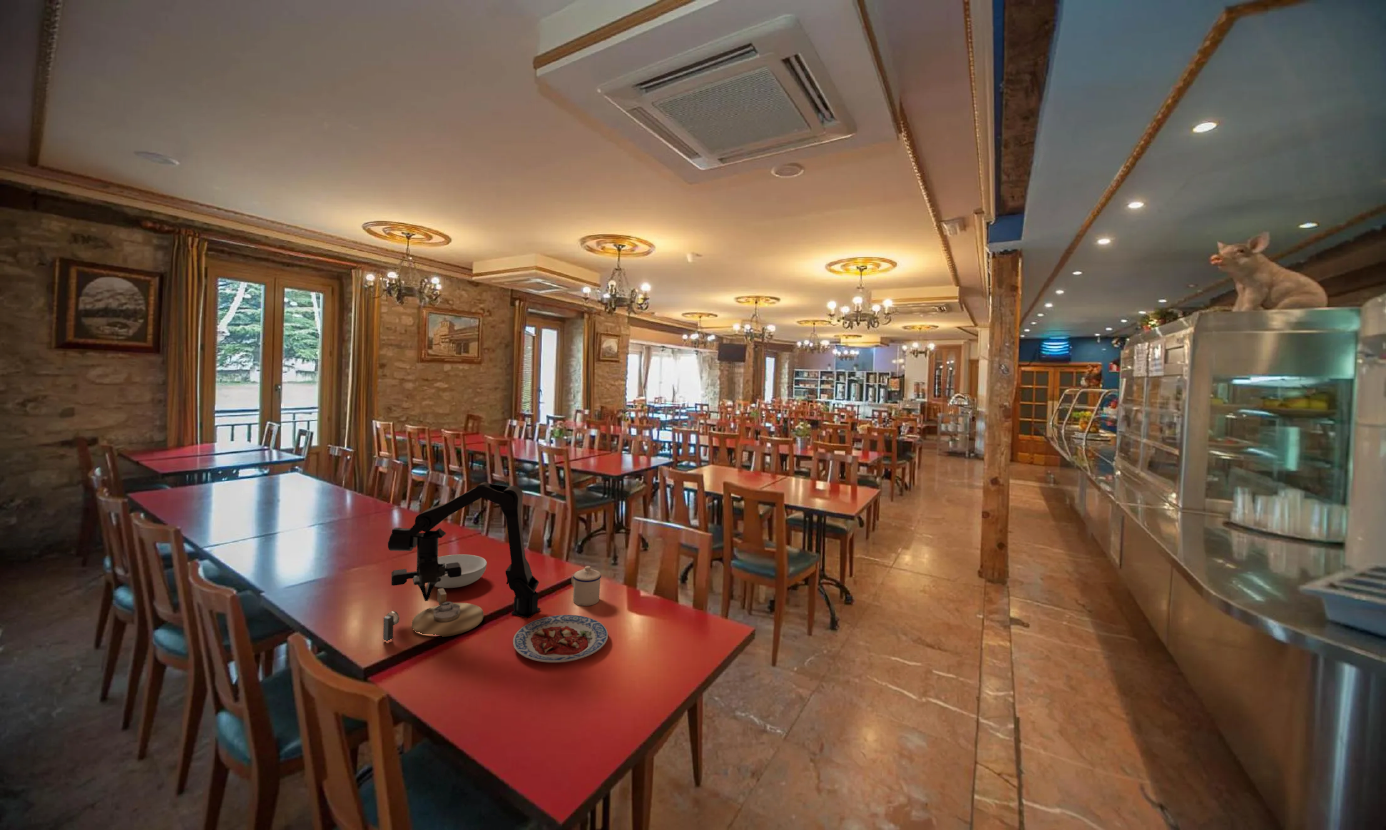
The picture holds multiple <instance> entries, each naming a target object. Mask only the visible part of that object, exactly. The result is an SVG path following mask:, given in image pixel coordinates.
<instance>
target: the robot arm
mask: <svg viewBox="0 0 1386 830" xmlns="http://www.w3.org/2000/svg"><path fill="white" fill-rule="evenodd" d="M523 497H524V493H523V490H522V489H521V488H520V487H519V486H517V485H510V486H507V485H503V484H502V485H501V484H494V483H489V482H487V481H486V482H485V481H483V482H481V483H479V484H477V486H476V487H473V488H471V489H470V490H468V491H466V492H464V493H463V494H460V495H459V496H457V497H455V498H453V499H452V500H449V501H448V502H446V503H442V504H439V505H435V506H433V507H430V508H427V509H426V510H424V511H422V512H421V513H419V514H417V515H416V517H415V518H414V524H413V525H412V526H411V528H407V527H406V528H403V527H394V528H392V530H391V534H390V536H389V538H388V542H387V548H388V550H389V551H390V552H392V551H393V552H411V551H413V550H414V548H416V571H410V572H408V570H407V568H402V569H401V568H400V569H395V570H393V571H391V574H390V575H391V576H390V577H391V579H390V581H391V583H390V584H391V586H400V585H401V586H402V585H405V583H407V582H408V580H411V579H412V582H413V585H414V586H418V587H419V589H420V591H421V594H422V596H423V600H424V601H425V602H429V599H430V597H431V594H432V591H433V589H434V587H435V586H434V585H435V584H436V583H437V582H440V581H441V578H440V577H442V576H444V575H445V574H448V576H449V577H450V578H452V577H459V576H461V571H462V570H461V566H460V564H459V563H458V562H456V563H448V564H446V567H445V563H444V564H438V557H439V539H442V538H443V537H444V536H445V535H446V534H447V532H445V531H444V530H443V529H442V528H441V527H439V528H437V529H436V530H433V529H434V528H435V527H437V525H440V523H442V522H443V521H444V520H446V519H447V518H448V517H450V516H451V515H453V514H454V513H456V512H458V511H460V510H462V509H464V508H466V507H467V506H469V505H471V504H473V503H474V502H477V501H478V500H480V499H485V500H488V501H490V502H492V503H496V504H499V506H500V509H501V512H502V514H503V516H504V517H505V519H506V528H507V538H508V546H509V554H510V564H509V566H508V567H507V569H506V570H505V576H506V583H505V584H506V585H508V586H509V589H510V590H512V592H513V593H514V597H513V611H511V613H510V614H511V615H513V616H519V617H521V618H526V619H529V618H530V617H533V616H534V615H536V614H537V613H538V612H540V611H541V608H540V607H538V606H539V605H538V604H539V592H537V591H536V590H537V588H538V586H539V583H540V582H539V580H538V579H537V578H536V577H535V576H533V573H532V572H533V571H532V570H531V566H530V563H529V562H528V560H527V558H526V551H525V542H524V535H523V533H524V532H523V526H522V518H521V516H522V515H521V514H522V507H523V499H524V498H523ZM426 584H427V587H426Z"/></svg>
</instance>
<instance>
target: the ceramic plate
mask: <svg viewBox="0 0 1386 830" xmlns="http://www.w3.org/2000/svg"><path fill="white" fill-rule="evenodd" d="M608 637H609V633H608V630H607V628H606V627H605V625H604V624H603V623H602V622H600V621H598V620H596V619H593V618H592V617H587V616H584V615H579V614H578V615H577V614H558V615H550V616H546V617H545V616H544V617H542V618H538V619H536V620H532V621H531V622H529V623H527V624H525V625H523V626H522V627H521V628H520V629H519V630H517V632H516V633H515V634H514V636H513V639H512V643H513V648H514V649H515V651H516V652H517V653H518V654H519V655H521V656H522V657H523V658H526V659H530V660H532V661H537V662H542V663H566V662H572V661H576V660H580V659H584V658H586V657H589V656H591V655H592V654H595V653H596V652H598V651H600V650H601V649H602V648H603V647H604V646H605V644H607V641H608Z"/></svg>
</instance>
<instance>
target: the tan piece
mask: <svg viewBox="0 0 1386 830" xmlns="http://www.w3.org/2000/svg"><path fill="white" fill-rule="evenodd" d="M436 602H437V603H438V605H434V606H432V607H429V608H426V609H424V610H422V611H420V612H419V613H417V614H416V615H415V616H414V617H413V619H412V622H411V629H412V628H413V629H414V631H416V632H420V633H422V634H433V635H435V634H436V635H440V636H442V637H441V638H444V637H451V636H452V637H453V636H456V635H461V634H463V633H466V632H468V631H471V630H473V629H475V628H476V627H477V626H478V625H480V624H481V623H482V621H483V620H484V610H483V609H482V607H480V606H479V605H476V604H473V603H469V602H468V603H467V602H453V604H457V605H459V606H460V617H459V618H458V619H456V620H454V621H451V622H446V623H439V622H436V621H434V609H435V608H436V607H438V606H440V605H441V604H442V603H444V602H447V592H446V590H445V588H438V589H437V601H436ZM413 629H412V630H413ZM414 631H413V632H414Z"/></svg>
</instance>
